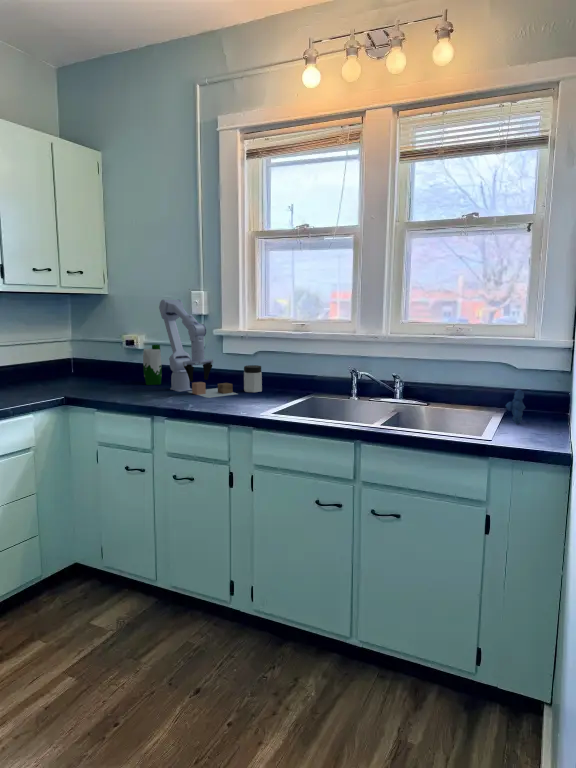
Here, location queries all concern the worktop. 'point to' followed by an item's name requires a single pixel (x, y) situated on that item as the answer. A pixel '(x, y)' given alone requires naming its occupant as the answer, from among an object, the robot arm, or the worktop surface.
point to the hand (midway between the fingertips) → (198, 380)
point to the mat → (213, 393)
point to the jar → (252, 378)
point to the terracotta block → (198, 388)
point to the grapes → (517, 406)
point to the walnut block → (225, 388)
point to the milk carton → (152, 365)
